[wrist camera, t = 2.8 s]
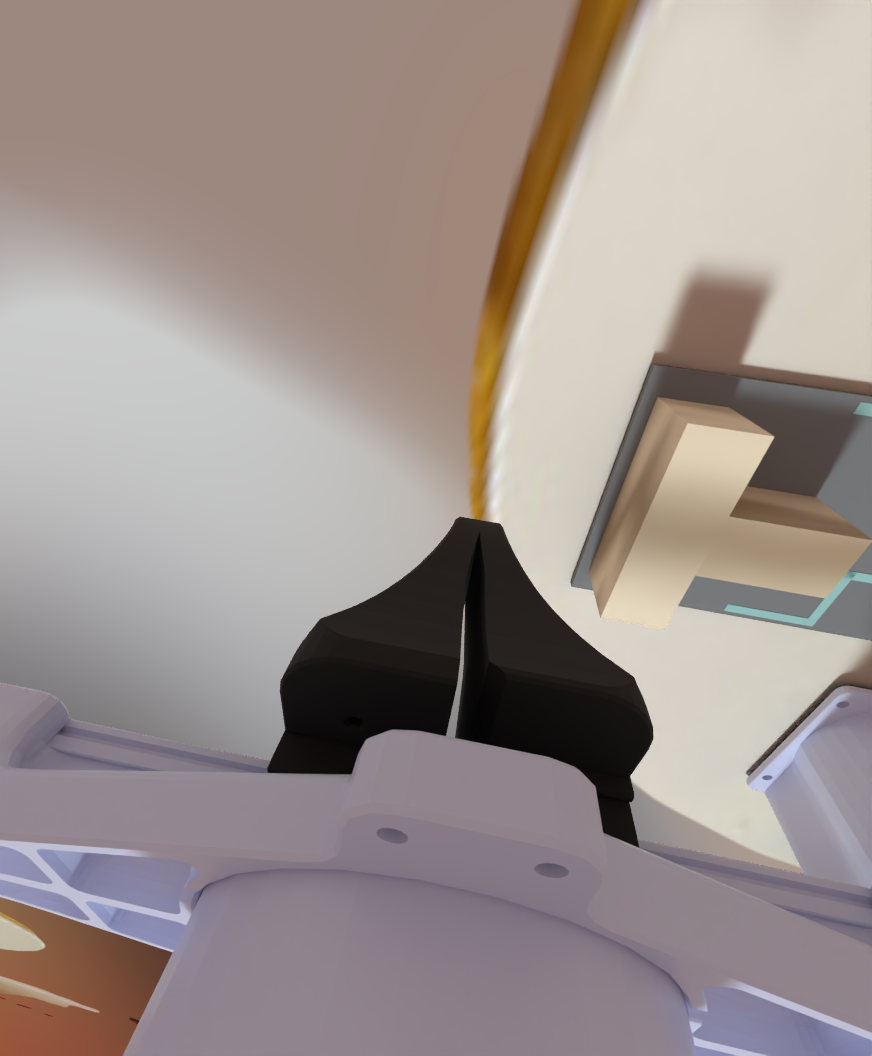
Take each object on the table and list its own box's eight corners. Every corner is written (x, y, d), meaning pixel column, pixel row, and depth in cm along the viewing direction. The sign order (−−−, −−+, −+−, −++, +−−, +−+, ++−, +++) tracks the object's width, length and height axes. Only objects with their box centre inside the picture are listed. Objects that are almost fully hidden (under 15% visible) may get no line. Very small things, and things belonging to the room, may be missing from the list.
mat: (912, 644, 19) (918, 649, 19) (570, 582, 20) (571, 586, 20) (1133, 434, 14) (1146, 437, 13) (651, 363, 15) (654, 365, 14)
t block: (745, 599, 19) (782, 651, 16) (588, 571, 19) (600, 617, 17) (863, 427, 15) (937, 461, 12) (657, 396, 15) (687, 423, 12)
